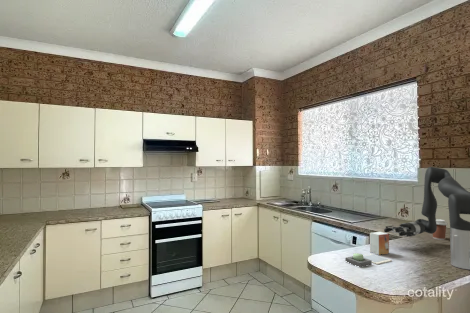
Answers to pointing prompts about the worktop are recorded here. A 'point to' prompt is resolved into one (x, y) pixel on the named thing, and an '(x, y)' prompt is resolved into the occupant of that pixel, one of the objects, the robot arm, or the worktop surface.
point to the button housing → (359, 263)
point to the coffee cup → (440, 229)
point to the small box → (379, 243)
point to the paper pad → (377, 259)
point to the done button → (358, 257)
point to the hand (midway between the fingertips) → (392, 232)
